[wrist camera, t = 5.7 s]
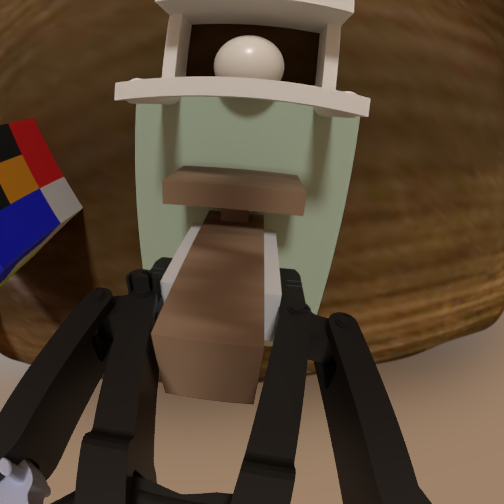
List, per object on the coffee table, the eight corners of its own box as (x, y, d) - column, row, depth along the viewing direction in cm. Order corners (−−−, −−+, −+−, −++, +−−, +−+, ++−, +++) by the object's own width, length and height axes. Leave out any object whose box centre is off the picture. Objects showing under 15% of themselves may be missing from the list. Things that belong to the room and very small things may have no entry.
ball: (217, 22, 11) (221, 64, 15) (203, 65, 11) (211, 108, 15) (288, 26, 11) (281, 68, 15) (287, 70, 11) (279, 113, 15)
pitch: (157, 321, 25) (132, 383, 18) (155, 16, 13) (101, -21, 6) (304, 336, 25) (313, 404, 18) (360, 31, 13) (411, -4, 6)
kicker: (184, 255, 19) (125, 383, 10) (183, 165, 16) (82, 246, 6) (283, 264, 19) (297, 405, 10) (297, 174, 16) (347, 272, 7)
